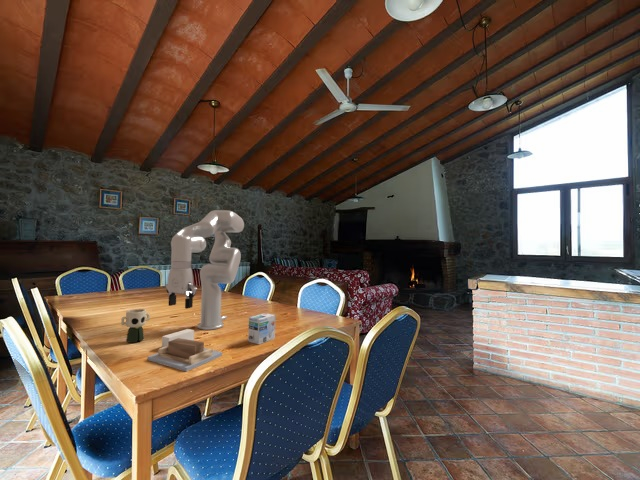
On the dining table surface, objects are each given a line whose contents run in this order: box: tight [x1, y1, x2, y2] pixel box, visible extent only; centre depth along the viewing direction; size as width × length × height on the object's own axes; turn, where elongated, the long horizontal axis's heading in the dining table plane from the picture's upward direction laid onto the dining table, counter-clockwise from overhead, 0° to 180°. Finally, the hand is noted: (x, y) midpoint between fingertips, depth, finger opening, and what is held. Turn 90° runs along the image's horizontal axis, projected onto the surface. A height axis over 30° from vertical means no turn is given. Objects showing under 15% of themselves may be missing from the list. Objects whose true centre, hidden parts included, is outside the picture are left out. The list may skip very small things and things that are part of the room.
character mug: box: [120, 308, 151, 343], centre depth 124 cm, size 11×7×13 cm, turn 145°
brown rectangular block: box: [168, 338, 205, 359], centre depth 107 cm, size 4×12×5 cm, turn 71°
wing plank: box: [161, 328, 195, 348], centre depth 122 cm, size 12×4×5 cm, turn 154°
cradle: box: [157, 346, 214, 365], centre depth 107 cm, size 9×17×2 cm, turn 64°
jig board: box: [147, 347, 223, 372], centre depth 108 cm, size 16×20×1 cm
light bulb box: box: [247, 312, 276, 345], centre depth 130 cm, size 11×7×11 cm, turn 148°
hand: (180, 306), depth 122 cm, fingers open, 9 cm apart
